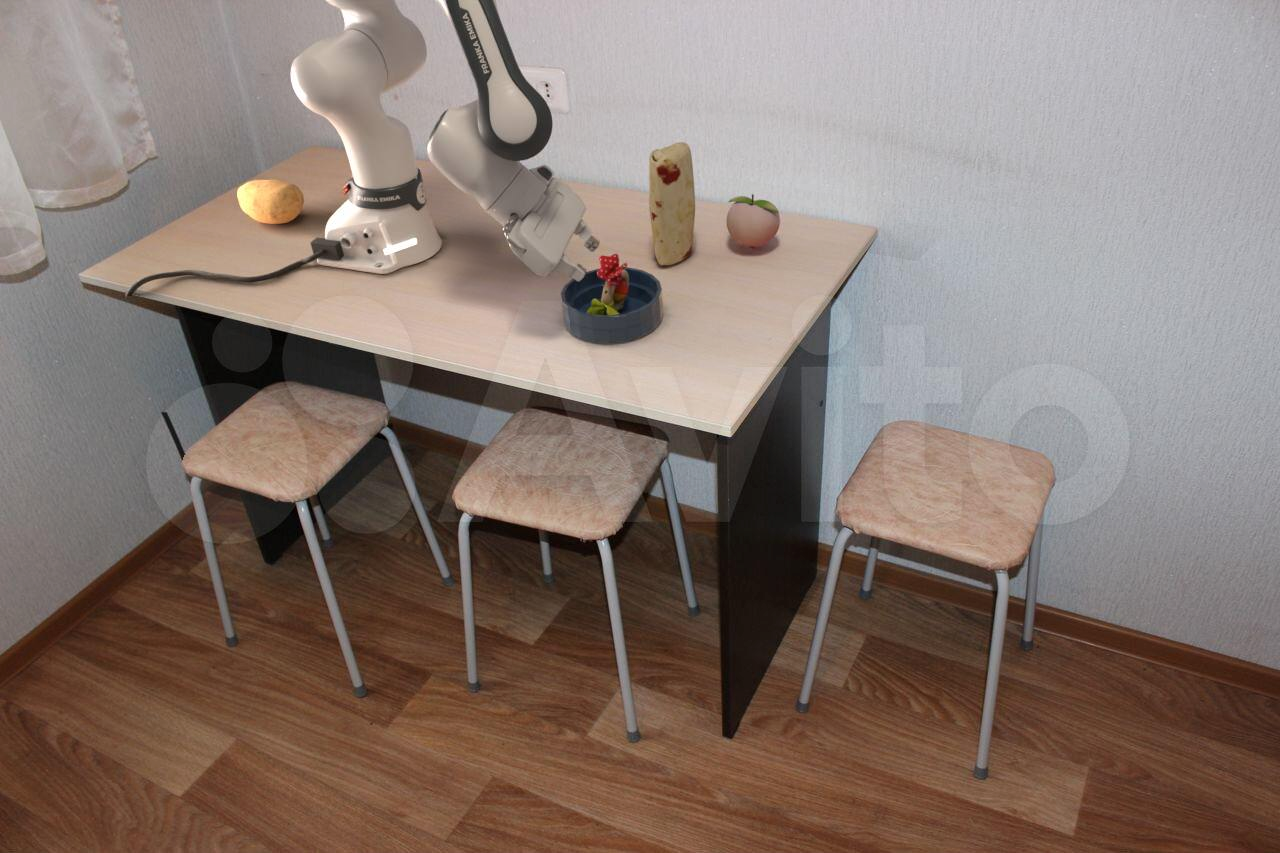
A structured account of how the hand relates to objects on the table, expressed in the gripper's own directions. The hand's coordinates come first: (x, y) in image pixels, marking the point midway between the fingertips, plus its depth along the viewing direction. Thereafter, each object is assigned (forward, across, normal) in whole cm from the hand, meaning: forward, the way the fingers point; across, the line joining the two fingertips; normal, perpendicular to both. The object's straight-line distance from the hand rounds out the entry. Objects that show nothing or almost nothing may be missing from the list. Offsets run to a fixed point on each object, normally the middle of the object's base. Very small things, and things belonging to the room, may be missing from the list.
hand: (590, 261), depth 159 cm
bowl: (+9, 0, +5) cm, 10 cm away
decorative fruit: (+23, +25, -8) cm, 35 cm away
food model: (+14, +21, +1) cm, 25 cm away
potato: (-43, +31, +57) cm, 78 cm away
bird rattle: (+9, 0, +5) cm, 10 cm away
